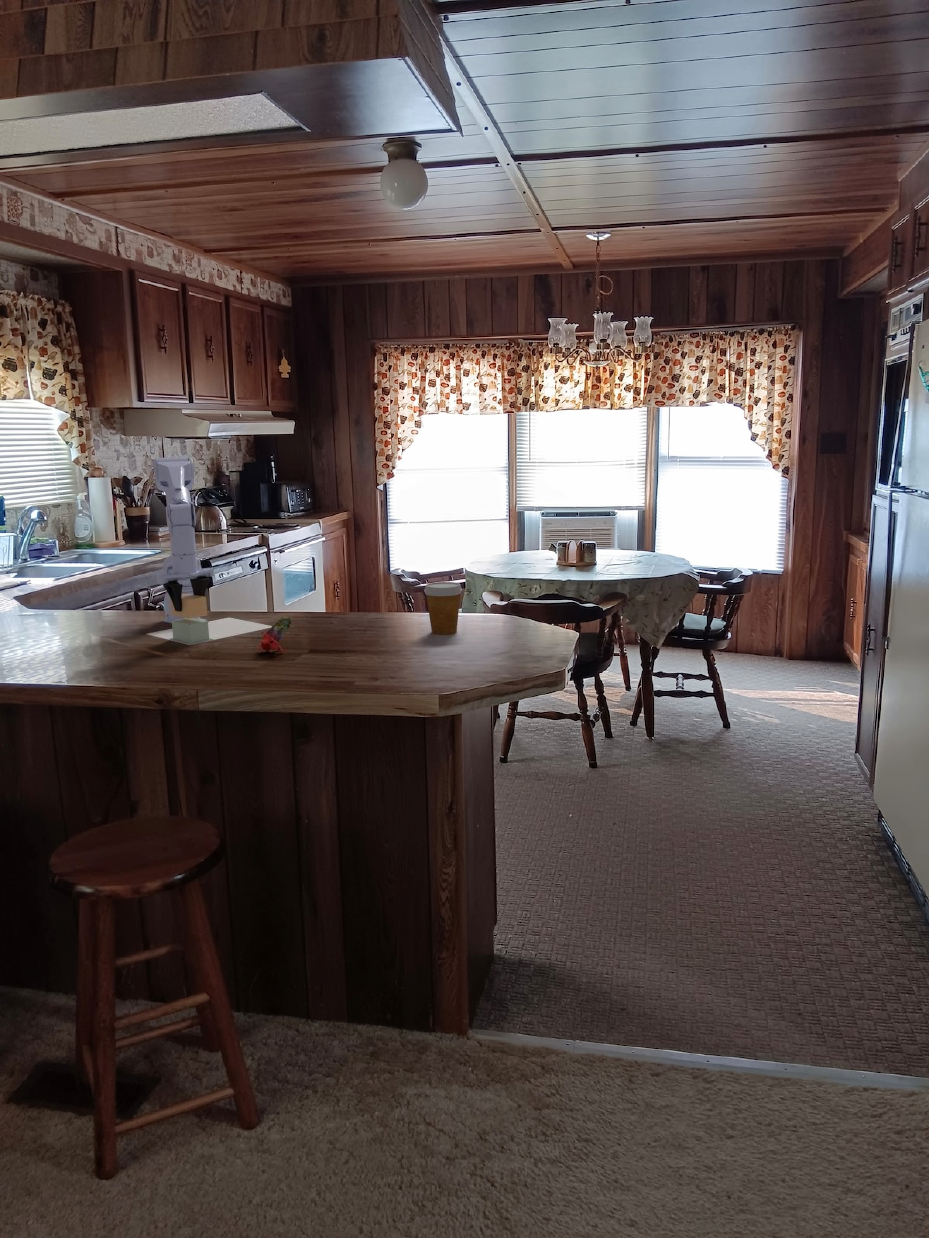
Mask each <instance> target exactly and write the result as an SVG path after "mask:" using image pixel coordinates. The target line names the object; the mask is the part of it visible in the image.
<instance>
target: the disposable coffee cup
mask: <svg viewBox="0 0 929 1238" xmlns="http://www.w3.org/2000/svg"><path fill="white" fill-rule="evenodd" d="M423 591H424V594H425V596H426V603H427V604H426V605H427V609H428V616H429V622H430V628H431V629H430V630H431V633H433V634H435V635H452V634H455V633H457V632H458V620H459V611H460V601H461V594H462V591H463V588H462V585H461V583H458V582H454V581H436V582H431V583H430V582H429V583H427V584H425V587H424V590H423Z"/></svg>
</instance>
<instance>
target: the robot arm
mask: <svg viewBox="0 0 929 1238" xmlns="http://www.w3.org/2000/svg"><path fill="white" fill-rule="evenodd" d="M153 471H154V480H155V486H156V488H157V490H159V491H162V492H163V493H164V494H165V500H166V506H165V514H166V515H165V516H166V524H167V528H168V534H169V537H170V539H169V540H170V551H171V554H170V555H169V556H168V557H167V558H165V559H164V560H163V563H162V572H163V574H159V575H158V574H156V576H155V577H156V578H155V579H156V584H158V585H162V586H163V589H165V591H166V593H165V595H164V599H163V602H164V603H163V604H164V613H165V620H164V619H163V622H165V623H169V624H172V621H174V620H179V619H184V618H183V617H179V616H174V615H171V606H170V598H171V600H172V603H173V606H174V609H175V611H178V612H181V611H182V595H183V594H192V595H197V596H203V597H205V594H206V590H207V588H208V586H209V584H210V582H211V581H210V578H209V577H215V572H214V567H213V568H212V567H206V568H205V567H204V568H202V565H201V560H200V559H199V557H197V543H196V534H195V533H196V532H195V528H196V523H197V518H196V510H195V506H194V503H193V501H192V500H191V493H190V490H191V489H193V488H194V484H195V467H194V460H193V457H191V456H187V457H186V456H185V457H184V456H183V457H182V456H181V457H155V458H153ZM194 619H199V620H204V621H207V619H206V618H205V619H204V618H201V617H196V618H194Z"/></svg>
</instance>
